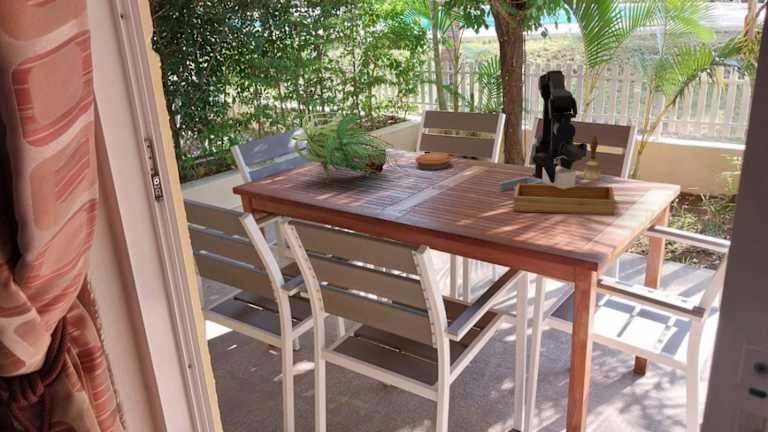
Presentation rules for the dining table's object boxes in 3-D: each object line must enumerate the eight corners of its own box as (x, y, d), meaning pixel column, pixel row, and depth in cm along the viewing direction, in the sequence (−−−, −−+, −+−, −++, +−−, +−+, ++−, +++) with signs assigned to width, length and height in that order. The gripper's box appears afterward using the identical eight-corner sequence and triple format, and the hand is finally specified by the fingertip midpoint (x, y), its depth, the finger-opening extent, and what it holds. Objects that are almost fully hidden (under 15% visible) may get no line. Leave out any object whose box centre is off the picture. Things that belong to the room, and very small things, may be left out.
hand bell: (606, 175, 228) (609, 134, 222) (598, 181, 222) (600, 138, 216) (585, 172, 233) (587, 132, 228) (576, 178, 227) (578, 136, 222)
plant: (416, 166, 226) (322, 131, 206) (368, 221, 247) (278, 194, 227) (402, 106, 248) (315, 69, 228) (358, 161, 269) (275, 131, 249)
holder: (526, 183, 224) (526, 176, 223) (543, 189, 217) (543, 181, 216) (499, 190, 218) (499, 182, 217) (515, 196, 210) (515, 188, 209)
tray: (610, 201, 201) (612, 185, 199) (614, 217, 187) (615, 199, 185) (516, 198, 209) (516, 183, 207) (513, 213, 196) (513, 196, 194)
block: (575, 186, 195) (575, 171, 193) (562, 189, 193) (563, 174, 191) (554, 179, 203) (554, 165, 202) (542, 181, 201) (542, 167, 200)
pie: (454, 162, 260) (454, 150, 259) (449, 171, 246) (449, 159, 244) (419, 162, 264) (418, 150, 262) (412, 171, 250) (411, 159, 248)
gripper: (558, 143, 181) (556, 192, 187) (600, 133, 190) (597, 180, 195) (531, 137, 190) (530, 184, 196) (573, 128, 199) (571, 173, 204)
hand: (558, 181), depth 198 cm, fingers closed on block, 5 cm apart
